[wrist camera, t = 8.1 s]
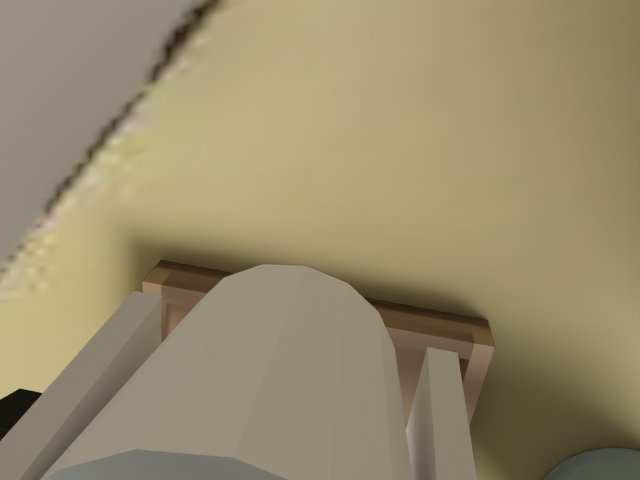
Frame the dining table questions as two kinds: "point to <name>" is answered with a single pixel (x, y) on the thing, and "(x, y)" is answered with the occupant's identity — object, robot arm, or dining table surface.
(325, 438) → the white cup
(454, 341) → the tray
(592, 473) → the blue cup
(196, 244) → the dining table surface
